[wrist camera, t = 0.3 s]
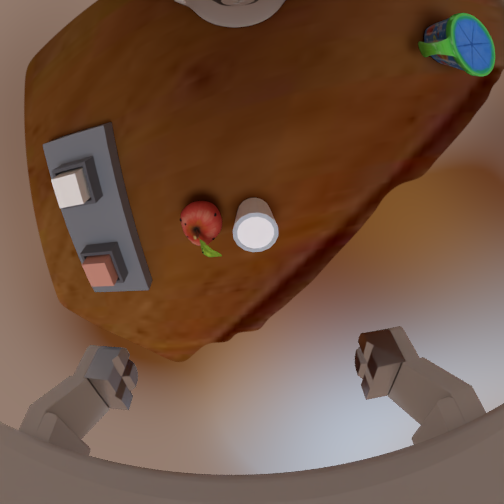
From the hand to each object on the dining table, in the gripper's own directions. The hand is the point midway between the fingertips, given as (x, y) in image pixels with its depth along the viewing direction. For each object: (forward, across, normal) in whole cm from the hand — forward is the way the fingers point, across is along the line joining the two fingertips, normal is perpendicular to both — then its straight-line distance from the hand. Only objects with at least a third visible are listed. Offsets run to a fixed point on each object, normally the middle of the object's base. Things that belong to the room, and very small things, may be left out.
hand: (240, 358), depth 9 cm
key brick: (+35, +27, +15) cm, 47 cm away
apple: (+40, +8, +8) cm, 41 cm away
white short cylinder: (+40, 0, +10) cm, 41 cm away
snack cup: (+37, -35, -22) cm, 55 cm away
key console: (+39, +27, +6) cm, 48 cm away
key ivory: (+33, +27, -1) cm, 43 cm away
